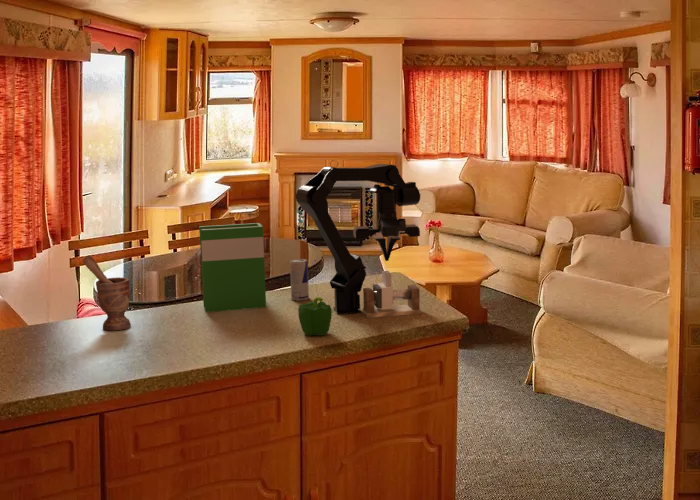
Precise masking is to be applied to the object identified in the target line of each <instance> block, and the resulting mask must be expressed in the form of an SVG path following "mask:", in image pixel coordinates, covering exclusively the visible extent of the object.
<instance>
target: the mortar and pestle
mask: <svg viewBox="0 0 700 500" xmlns="http://www.w3.org/2000/svg"><path fill="white" fill-rule="evenodd" d="M82 263H83V264H84V265H85V267H86V268H87V269H88V270H89V271H90V272H91V273H92V274H93V275H94V276H95V277H96V279H98V280H96V281H95V286H96V291H97V292H96V294H97V301H98V305H99V307H100V308H101V310H102V312H104V313H105V314H106V315H107V318H106V319H105V320H104V321H103V323H102V330H104V331H121V330H126V329H127V328H129V329H130V328H131V327H132V326H131V325H132V323H131V320H130V319H129V318H127V316H125V313H126V310H128V308H129V306H130V301H131V290H130V278H128V277H107V276H106V275H105V274H104V272H103V271H102V269H101V267H100V266H99V264H98V262H97V261H96V259H94V257H93V256H92V255H87V256H85V257H84V258H82ZM127 330H128V329H127Z"/></svg>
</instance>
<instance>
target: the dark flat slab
mask: <svg viewBox="0 0 700 500" xmlns="http://www.w3.org/2000/svg"><path fill="white" fill-rule="evenodd" d="M372 290H373V291H377V302H374V307H377V308H378V309H379V308H382V289H381V288H380V287H379V286H378V285H377V283H375V284H372Z"/></svg>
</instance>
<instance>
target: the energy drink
mask: <svg viewBox="0 0 700 500" xmlns="http://www.w3.org/2000/svg"><path fill="white" fill-rule="evenodd" d="M289 268H290V297H291V300H292V301H295V300H296V301H298V302H301V301H302V302H303V301H307V300H308V299H309V298H310V297H309V296H310V293H309V291H310V287H309V263H308V260H307V258H306V259H305V258H294V259H290V262H289Z"/></svg>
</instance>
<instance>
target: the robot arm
mask: <svg viewBox="0 0 700 500" xmlns="http://www.w3.org/2000/svg"><path fill="white" fill-rule="evenodd" d="M361 181H362V182H369V183H370V182H371V183H374V186H372V187H371V188H370V190H369V193H372V194H375V197H376V198H375V199H376V200H375V204H376V206H375V207H376V210H375V211H376V213H375V214H376V215H375V217H376V221H375V222H376V228H369V227H368V226H367V225H363V226H360V225H359V226H354V227H353V235H352V236H353V237H354V238H355V239H357V240H362V239H363V240H364V239H365V240H366V239H368V238H369V237H370V236H372V238H373V240H374V241H376V242H377V243H378V245H379V248H380V250H381V253H382V256H383V258H384V261H385V262H388V261H390V260H389V259H390V257H391V254H392V252H393V248H394V245H395V244H396V243H397V242H398V241H400V240H401V237H400V235H407V236H408V237H410V238H411V237H421V230H420V227H419V226H418V225H416V224H407V222H406V221H407V220H406V218H398V217H397V206H398V207H405V206H414V205H418V204H419V203H420V200H421V193H420V191H419V188H418V187H417V182H416V181H408V182H405V181H404V179H403V177H402V176H401V174H400V170H399V168H398V167H397V166H396V165H394V164H390V163H389V164H388V163H376V164H372V165H369V166H365V167H334V166H333V167H332V166H325V167H323V168H322V169H320V170H319V172H318V173H317V174H316V175H314V176H313V177H311V178H310V179H309V180H308V181H307V182H306V183H305V184H304V185H302V186H299V187H298V189H297V191H296V193H295V200H296V202H297V203H298V205H299V206H300V207H301V209H302V210H303V211H304V212H305V213H306V214H307V215H308V216H310V218H312V220H313V222H314V223H315V225H316V228H317V229H318V231H319V233H320V235H321V237H322V238H323V241H324V242H325V244H326V246H327V248H328V250H329V251H330V253H331V255H332V258H334V270H335V272H336V273H335V274H334V276H333V277H332V278H331V280H330V281H329V285H330V287H331V289H333V290H334V292H333V293H334V307H333V310H334V312H335V313H336V315H344V314H355V313H356V314H358V313H360V309H361V296H360V294H359V293H360V292H361V291H362V288H363V284H364V281H365V279H366V277H367V271H366V269H367V267H366V266H365V265H364V263H363V260H362V258H361V257H360V256H358V255H354V254H351V253H350V251H349V249H348V247H347V245H346V243H345V241H344V240H343V238H342V236H341V233H340V232H339V230H338V228H337V226H336V224H335V223H334V220H333V219H332V217H331V215H330V212H329V202H328V199H327V197H328V196H329V195H330V194H331V192H332V190H333V188H334V186H335V184H336V183H337V182H361ZM380 184H382V185H384V186H381V185H380Z"/></svg>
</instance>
